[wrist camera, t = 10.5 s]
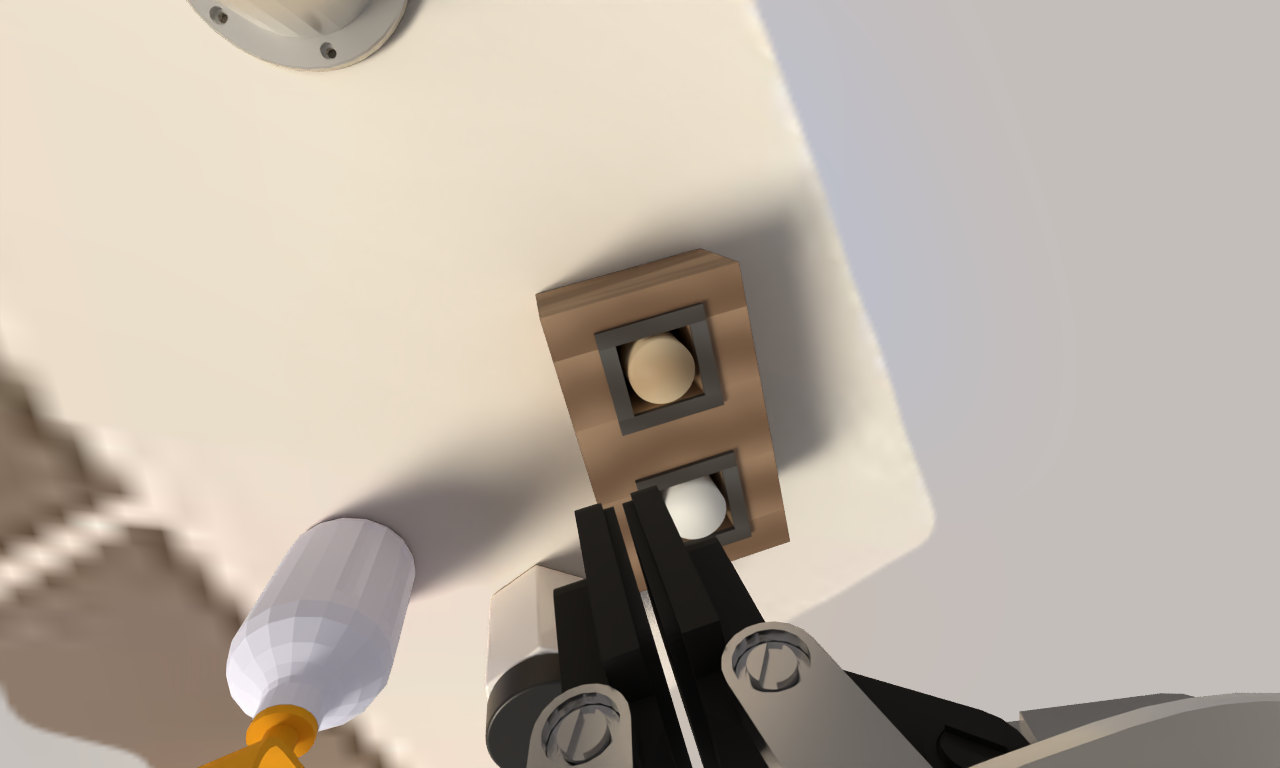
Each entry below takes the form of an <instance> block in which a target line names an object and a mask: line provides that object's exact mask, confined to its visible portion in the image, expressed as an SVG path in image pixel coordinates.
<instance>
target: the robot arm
mask: <svg viewBox="0 0 1280 768" xmlns="http://www.w3.org/2000/svg"><path fill="white" fill-rule="evenodd" d="M187 2H188V3H189V4H190V6H191V7H192V8H193V10H194V11H195V12H196V13H197V14H198V15H199V16H200V17H201V18H202V19H203V20H204V21H205V22H206V23H207V24H208V25H209V26H210V27H211V28H212V29H213V30H214V31H215V32H216V33H218V34H219V35H220V36H222V37H223V38H225V39H226V40H227V41H229V42H230V43H231V44H233V45H234V46H236V47H237V48H239V49H241V50H243V51H244V52H246V53H248V54H250V55H252V56H254V57H256V58H259V59H261V60H263V61H266V62H268V63H271V64H273V65H276V66H279V67H283V68H288V69H293V70H297V71H314V72H324V71H330V70H335V69H341V68H345V67H347V66H350V65H352V64H355V63H357V62H359V61H362V60H364V59H365V58H367V57H368V56H369V55H371V54H372V53H374V52H375V51H376V50H378V49H379V48H380V47H381V46H382V45H383V44H384V43H385V42H386V41H387V39H388V38H389V37H390V36H391V35H392V34H393V33H394V31H395V29H396V27H397V26H398V24H399V22H400V20H401V19H402V17H403V15H404V12H405V9H406V6H407V3H408V0H187ZM223 15H227V16H228V20H227V22H226V23H225V24H223V22H222V19H221V18H222V16H223ZM331 49H334V50H335V51H336V57H335V58H330V57H329V54H328V53H329V51H330V50H331ZM630 495H631V499H632V500H631V501H628V502H625V503H622V505H623V509H624V512H625V516H626V519H627V522H628V526H629V529H630V533H631V536H632V539H633V543H634V546H635V550H636V553H637V556H638V560H639V563H640V567H641V570H642V573H643V577H644V580H645V584H646V587H647V590H648V594H649V597H650V601H651V604H652V607H653V611H654V614H655V617H656V621H657V624H658V627H659V630H660V633H661V636H662V640H663V643H664V646H665V649H666V652H667V655H668V658H669V661H670V664H671V668H672V671H673V674H674V677H675V680H676V683H677V686H678V689H679V692H680V695H681V698H682V702H683V704H684V708H685V711H686V714H687V717H688V720H689V723H690V727H691V730H692V733H693V736H694V739H695V742H696V745H697V748H698V751H699V755H700V758H701V761H702V764H703V767H704V768H1280V693H1232V694H1223V695H1213V696H1204V697H1193V696H1189V695H1185V694H1164V693H1163V694H1162V693H1160V694H1153V695H1145V696H1137V697H1129V698H1122V699H1114V700H1106V701H1098V702H1090V703H1083V704H1076V705H1067V706H1060V707H1052V708H1044V709H1037V710H1028V711H1020V712H1019V714H1020V721H1013V722H1005V721H1004V720H1002V719H1001V718H999V717H996V716H994V715H992V714H989V713H986V712H984V711H982V710H979V709H975V708H972V707H969V706H965V705H962V704H958V703H955V702H951V701H948V700H945V699H941V698H937V697H934V696H931V695H927V694H924V693H920V692H917V691H914V690H910V689H907V688H903V687H900V686H896V685H893V684H890V683H886V682H883V681H879V680H876V679H872V678H869V677H865V676H862V675H858V674H855V673H852V672H848V671H845V670H842V669H841V667H840V666H839V665H838V664H837V663H836V662H835V661H834V660H833V659H832V658H831V656H830V655H829V654H828V653H827V652H826V651H825V650H824V649H823V648H822V647H821V646H820V644H819V643H818V642H817V641H816V640H815V639H814V638H813V637H812V636H810V635H809V634H808V633H807V632H806V631H804V630H803V629H801V628H799V627H796V626H794V625H791V624H789V623H782V622H765V621H764V619H763V617H762V616H761V614H760V612H759V610H758V609H757V607H756V605H755V603H754V602H753V600H752V598H751V596H750V595H749V593H748V591H747V589H746V588H745V586H744V584H743V582H742V581H741V579H740V577H739V575H738V573H737V572H736V570H735V568H734V566H733V565H732V563H731V561H730V559H729V558H728V556H727V554H726V552H725V551H724V549H723V547H722V545H721V544H720V542H719V540H718V539H717V537H715V536H712V537H709V538H706V539H703V540H700V541H697V542H694V543H691V544H688V545H684V543H683V541H682V539H681V536H680V534H679V532H678V530H677V528H676V526H675V524H674V521H673V519H672V517H671V515H670V513H669V511H668V509H667V506H666V504H665V502H664V500H663V498H662V496H661V494H660V491H659V489H658V487H657V485H654V486H651V487H648V488H645V489H642V490H638V491H635V492H632V493H630ZM575 517H576V523H577V528H578V534H579V539H580V545H581V551H582V556H583V562H584V567H585V573H586V579H583V580H580V581H577V582H574V583H571V584H568V585H565V586H562V587H559V588H556V589H554V590H553V600H554V611H555V622H556V634H557V645H558V656H559V667H560V678H561V689H562V694H561V695H559V696H558V697H556V698H555V699H554V700H553V701H552V702H551V703H550V704H549V705H548V706H547V707H546V708H545V709H544V710H543V711H542V713H541V714H540V716H539V718H538V719H537V721H536V722H535V725H534V728H533V731H532V735H531V738H530V746H529V753H528V760H527V768H692V765H691V761H690V758H689V755H688V752H687V748H686V745H685V741H684V738H683V735H682V732H681V728H680V725H679V721H678V718H677V715H676V711H675V708H674V705H673V702H672V698H671V695H670V692H669V688H668V685H667V682H666V678H665V675H664V672H663V668H662V665H661V662H660V658H659V655H658V652H657V648H656V645H655V642H654V638H653V635H652V632H651V628H650V625H649V622H648V619H647V615H646V612H645V609H644V605H643V602H642V599H641V595H640V592H639V589H638V585H637V582H636V579H635V576H634V572H633V569H632V566H631V562H630V559H629V556H628V552H627V549H626V546H625V542H624V539H623V536H622V533H621V529H620V526H619V523H618V519H617V516H616V513H615V509H614V506H613V507H609V508H606V509H603V507H602V504H601V503H598V504H595V505H592V506H588V507H585V508H582V509H579V510H576V511H575Z"/></svg>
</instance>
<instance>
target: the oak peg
mask: <svg viewBox="0 0 1280 768" xmlns="http://www.w3.org/2000/svg"><path fill="white" fill-rule="evenodd" d="M615 347H616V350H617V354H618V358H619V361H620V365H621V368H622V370H623V372H624V373H625V375H626V377H627V379H628V380H629V382H630V384H631V386H632V387H633V389H634V391H635V392H636V393H637V394H638V395H639V396H640V397H641V398H642V399H644V400H646V401H648V402H651V403H655V404H665V403H670V402H672V401H675V400H677V399H678V398H680V397H681V396H683V395H684V394H685V393H686V392H687V390H688V389H689V388H690V386H691V384H692V382H693V379H694V375H695V364H694V360H693V357H692V355H691V354H690V352H689V351H688V350H687V348H686V347H685V346H684V345H683V344H681V343H680V342H679V341H678V340H677V339H676V338H675V337H674V336H673V335H672V334H671V333H670V332H669V331H667V332H663V333H660V334H656V335H653V336H649V337H646V338H643V339H639V340H636V341H632V342H629V343H626V344H622V345H619V346H615Z"/></svg>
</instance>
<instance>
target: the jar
mask: <svg viewBox="0 0 1280 768" xmlns="http://www.w3.org/2000/svg"><path fill="white" fill-rule="evenodd" d="M583 579H584V578H580V577H577V576H573V575H570V574H566V573H563V572H559V571H556V570H552V569H549V568H545V567H542V566H538V565H535V566H534V567H532V568H531V569H529V570H528V571H527V572H525V573H524V574H523V575H521V576H520V577H518V578H517V579H516V580H514V581H513V582H511V583H510V584H509V585H507V586H506V587H504V588H503V589H502V590H500V591H499V592H497V593H496V594H495V595H493V596H492V597H491V599H490V613H489V629H488V645H487V661H486V677H485V689H486V694H487V699H488V704H487V720H486V745H487V749H488V752H489V754H490V756H491V758H492V759H493V761H494V762H495V763H496V764H497V765H498V766H499V767H500V768H527V760H528V753H529V746H530V738H531V735H532V731H533V728H534V725H535V722H536V721H537V719H538V718H539V716H540V714H541V713H542V711H543V710H544V709H545V708H546V707H547V706H548V705H549V704H550V703H551V702H552V701H553V700H554V699H555V698H556V697H558V696H559V695H561V694H562V689H561V678H560V667H559V656H558V645H557V634H556V622H555V611H554V600H553V590H554V589H556V588H559V587H562V586H565V585H568V584H571V583H574V582H577V581H580V580H583Z"/></svg>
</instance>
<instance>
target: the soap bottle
mask: <svg viewBox="0 0 1280 768" xmlns="http://www.w3.org/2000/svg"><path fill="white" fill-rule="evenodd" d="M415 576H416V574H415V566H414V558H413V555H412V554H411V552H410V550H409V549H408V547H407V545H406V544H405V542H404V540H403V539H402V538H401V537H399V536H398V535H397V534H396V533H394V532H393V531H392V530H391V529H389V528H388V527H387V526H384V525H381V524H379V523H376V522H373V521H370V520H368V519H357V518H340V519H336V520H332V521H327V522H323V523H320V524H318V525H316V526H315V527H313V528H311V529H310V530H308V531H306V532H305V533H303V534H301V535H300V536H299V538H298V539H297V540H296V541H295V543H294V544H293V545H292V546H291V548H290V549H289V550H288V552H287V553H286V555H285V556H284V558H283V560H282V561H281V563H280V565H279V566H278V568H277V569H276V571H275V573H274V574H273V576H272V577H271V579H270V581H269V582H268V584H267V585H266V587H265V589H264V590H263V592H262V593H261V595H260V597H259V598H258V600H257V602H256V603H255V605H254V606H253V608H252V610H251V611H250V613H249V614H248V616H247V618H246V619H245V621H244V622H243V624H242V626H241V627H240V629H239V630H238V632H237V634H236V635H235V637H234V639H233V640H232V643H231V647H230V651H229V656H228V660H227V670H226V677H227V681H228V685H229V689H230V693H231V696H232V698H233V699H234V700H235V701H236V702H237V704H238V705H239V706H240V707H241V709H242V710H243V711H244V712H245V713H246V714H247V715H249V716H251V717H252V718H253V719H252V721H251V724H250V726H249V728H248V730H247V734H246V743H247V745H248V746H247V747H245V748H243V749H240V750H238V751H235V752H233V753H231V754H228V755H226V756H224V757H221V758H219V759H217V760H214V761H212V762H210V763H207V764H205V765H203V766H200V767H198V768H304V766H303V765H302V764H301V763H300V761H299V760H298V758H299V757H300V756H302V755H303V754H305V753H306V752H308V751H309V749H310V748H311V746H312V745H313V744H314V741H315V739H316V736H317V733H318V731H321V730H325V729H328V728H332V727H336V726H339V725H343V724H344V723H346V722H348V721H349V720H351V719H353V718H354V717H356V716H358V715H359V714H361V713H363V712H364V711H365V709H366V708H367V707H368V706H369V705H370V703H371V702H372V701H373V700H374V699H375V698H376V696H377V695H378V694H379V693H380V692H381V690H382V689H383V688H384V687H385V686H386V684H387V681H388V678H389V675H390V671H391V668H392V665H393V661H394V657H395V653H396V650H397V646H398V642H399V638H400V634H401V630H402V626H403V622H404V618H405V614H406V611H407V607H408V603H409V599H410V595H411V591H412V587H413V583H414V579H415Z"/></svg>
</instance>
